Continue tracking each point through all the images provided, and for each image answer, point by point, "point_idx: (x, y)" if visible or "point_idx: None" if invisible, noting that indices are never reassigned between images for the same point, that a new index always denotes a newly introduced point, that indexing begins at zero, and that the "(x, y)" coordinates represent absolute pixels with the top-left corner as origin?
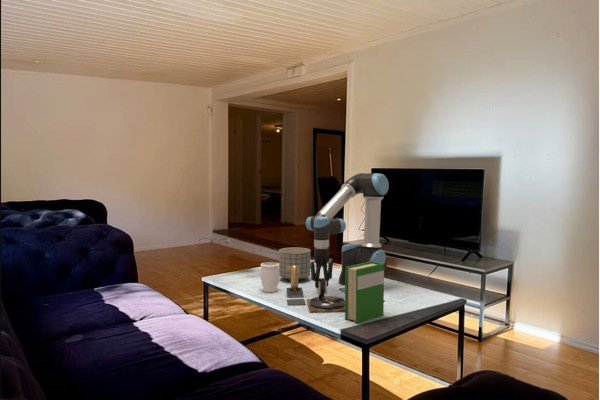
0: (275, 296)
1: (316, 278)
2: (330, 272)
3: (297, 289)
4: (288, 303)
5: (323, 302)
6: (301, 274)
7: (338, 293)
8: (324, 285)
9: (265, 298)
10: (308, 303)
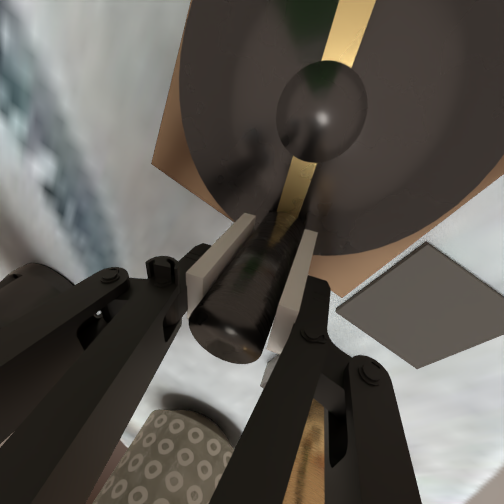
0: (401, 417)
1: (316, 380)
2: (34, 336)
3: None
4: (499, 329)
5: (386, 99)
6: (186, 435)
7: (139, 257)
8: (235, 259)
9: (469, 439)
10: (424, 228)
